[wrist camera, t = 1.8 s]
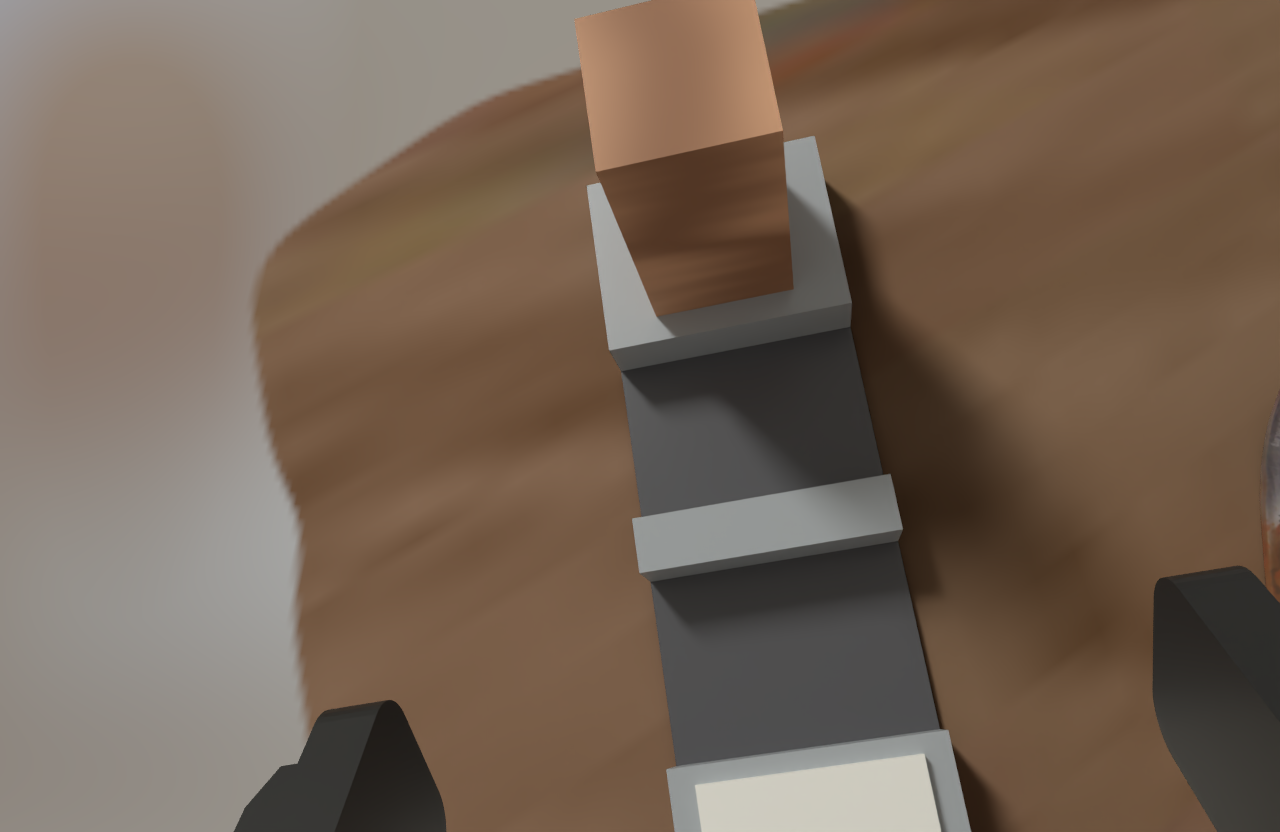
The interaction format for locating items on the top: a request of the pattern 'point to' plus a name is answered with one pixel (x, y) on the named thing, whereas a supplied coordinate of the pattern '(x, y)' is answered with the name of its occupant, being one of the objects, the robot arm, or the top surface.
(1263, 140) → the top surface
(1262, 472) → the tin
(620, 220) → the block
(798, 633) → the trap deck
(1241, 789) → the robot arm
